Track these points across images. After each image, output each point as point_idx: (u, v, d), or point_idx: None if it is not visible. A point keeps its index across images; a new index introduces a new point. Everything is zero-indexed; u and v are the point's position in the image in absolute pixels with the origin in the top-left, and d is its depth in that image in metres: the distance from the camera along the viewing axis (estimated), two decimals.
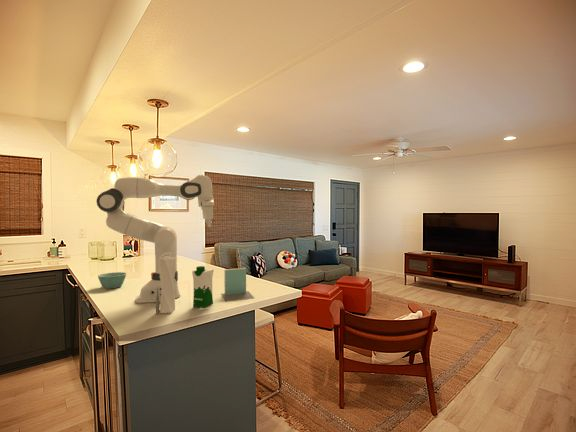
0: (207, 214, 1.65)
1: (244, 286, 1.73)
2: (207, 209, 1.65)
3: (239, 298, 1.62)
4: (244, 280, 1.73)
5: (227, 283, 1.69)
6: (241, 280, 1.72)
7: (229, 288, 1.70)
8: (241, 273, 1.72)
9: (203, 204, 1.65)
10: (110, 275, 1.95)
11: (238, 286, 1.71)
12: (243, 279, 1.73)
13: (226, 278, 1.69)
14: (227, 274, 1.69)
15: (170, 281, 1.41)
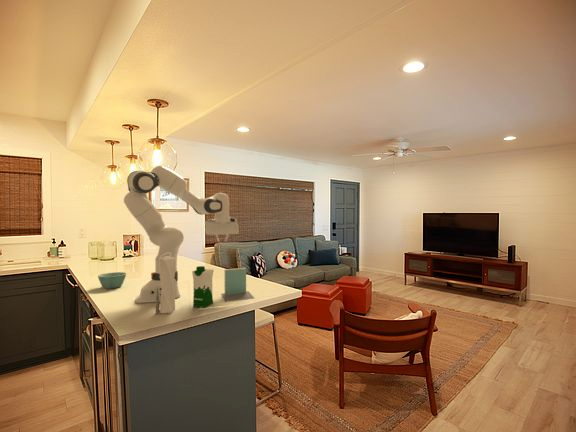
0: (238, 229, 1.87)
1: (244, 286, 1.73)
2: None
3: (239, 298, 1.62)
4: (244, 280, 1.73)
5: (227, 283, 1.69)
6: (241, 280, 1.72)
7: (229, 288, 1.70)
8: (241, 273, 1.72)
9: (236, 220, 1.86)
10: (110, 275, 1.95)
11: (238, 286, 1.71)
12: (243, 279, 1.73)
13: (226, 278, 1.69)
14: (227, 274, 1.69)
15: (170, 281, 1.41)
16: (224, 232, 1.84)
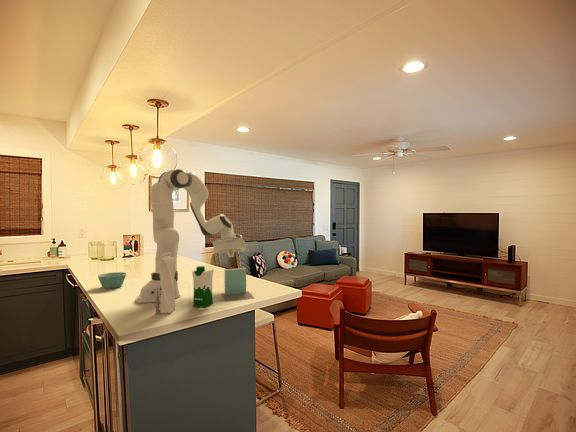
0: None
1: (244, 286, 1.73)
2: None
3: (239, 298, 1.62)
4: (244, 280, 1.73)
5: (227, 283, 1.69)
6: (241, 280, 1.72)
7: (229, 288, 1.70)
8: (241, 273, 1.72)
9: None
10: (110, 275, 1.95)
11: (238, 286, 1.71)
12: (243, 279, 1.73)
13: (226, 278, 1.69)
14: (227, 274, 1.69)
15: (170, 281, 1.41)
16: (232, 247, 1.88)
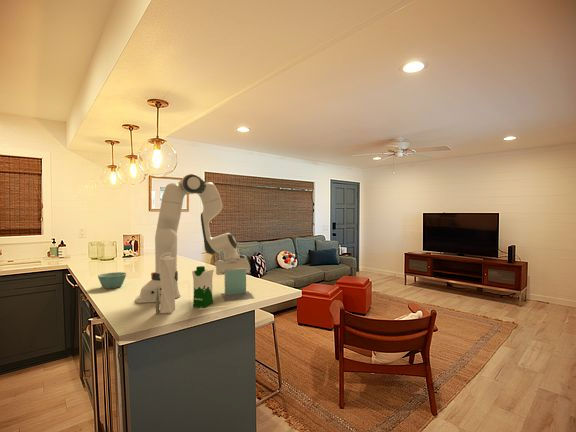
0: None
1: (244, 286, 1.73)
2: None
3: (239, 298, 1.62)
4: (244, 280, 1.73)
5: (227, 283, 1.69)
6: (241, 280, 1.72)
7: (229, 288, 1.70)
8: (241, 273, 1.72)
9: None
10: (110, 275, 1.95)
11: (238, 286, 1.71)
12: (243, 279, 1.73)
13: (226, 278, 1.69)
14: (227, 274, 1.69)
15: (170, 281, 1.41)
16: None
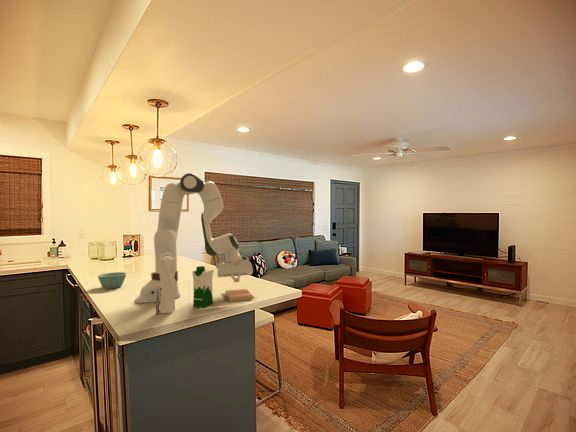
0: None
1: None
2: None
3: None
4: None
5: None
6: None
7: None
8: None
9: (248, 259, 1.78)
10: (110, 275, 1.95)
11: None
12: None
13: None
14: None
15: (170, 281, 1.41)
16: (237, 271, 1.71)
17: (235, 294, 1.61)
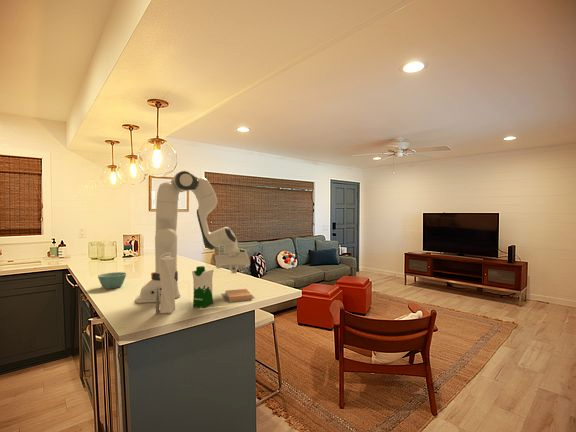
0: None
1: None
2: None
3: None
4: None
5: None
6: None
7: None
8: None
9: (246, 251, 1.83)
10: (110, 275, 1.95)
11: None
12: None
13: None
14: None
15: (170, 281, 1.41)
16: (235, 262, 1.76)
17: (235, 294, 1.61)
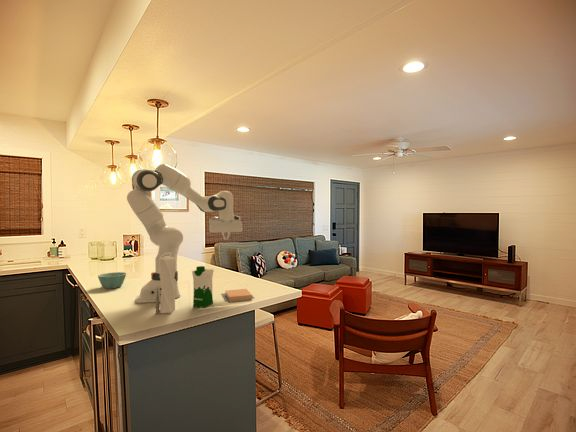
0: None
1: None
2: None
3: None
4: None
5: None
6: None
7: None
8: None
9: (240, 218, 1.86)
10: (110, 275, 1.95)
11: None
12: None
13: None
14: None
15: (170, 281, 1.41)
16: (228, 230, 1.84)
17: (235, 294, 1.61)
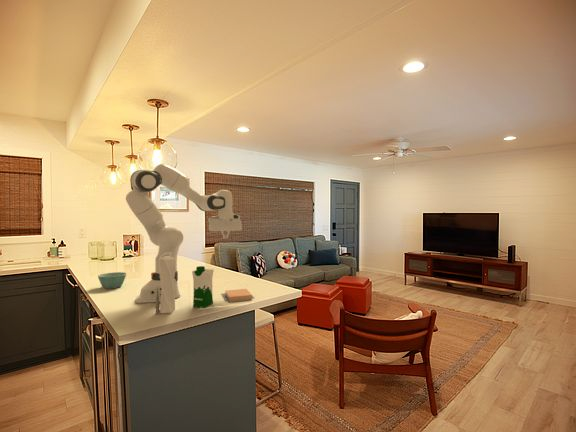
0: (241, 226, 1.88)
1: None
2: None
3: None
4: None
5: None
6: None
7: None
8: None
9: (239, 217, 1.86)
10: (110, 275, 1.95)
11: None
12: None
13: None
14: None
15: (170, 281, 1.41)
16: (227, 229, 1.84)
17: (235, 294, 1.61)
